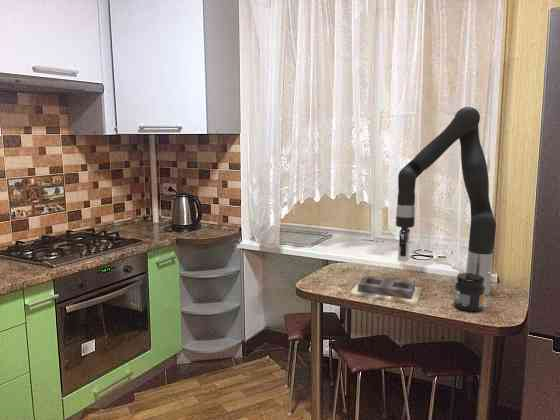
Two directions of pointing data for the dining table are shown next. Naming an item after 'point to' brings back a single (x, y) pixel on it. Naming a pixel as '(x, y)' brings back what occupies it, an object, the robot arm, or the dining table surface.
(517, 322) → the dining table surface
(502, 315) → the dining table surface
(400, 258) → the white rectangular block
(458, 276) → the supplement container
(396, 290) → the socket board
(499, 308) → the dining table surface
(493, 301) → the dining table surface
